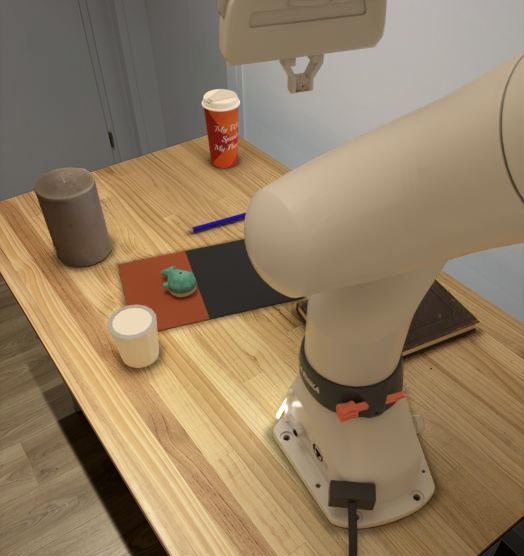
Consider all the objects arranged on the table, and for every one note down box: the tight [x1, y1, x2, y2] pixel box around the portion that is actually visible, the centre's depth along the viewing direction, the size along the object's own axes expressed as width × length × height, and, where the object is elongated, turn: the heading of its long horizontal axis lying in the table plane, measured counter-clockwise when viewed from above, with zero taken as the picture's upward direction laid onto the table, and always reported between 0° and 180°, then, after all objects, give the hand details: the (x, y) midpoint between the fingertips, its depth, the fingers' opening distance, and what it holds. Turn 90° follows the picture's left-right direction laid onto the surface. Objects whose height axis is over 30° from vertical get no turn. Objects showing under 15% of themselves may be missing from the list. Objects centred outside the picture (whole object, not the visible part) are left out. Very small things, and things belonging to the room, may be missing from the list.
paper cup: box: [201, 88, 241, 169], centre depth 114 cm, size 8×8×14 cm
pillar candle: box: [33, 167, 112, 268], centre depth 94 cm, size 10×10×15 cm
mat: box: [117, 238, 305, 332], centre depth 94 cm, size 18×28×1 cm, turn 108°
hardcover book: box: [295, 278, 480, 361], centre depth 86 cm, size 16×23×2 cm
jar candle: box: [107, 305, 160, 369], centre depth 80 cm, size 7×7×7 cm
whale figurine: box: [161, 266, 197, 297], centre depth 91 cm, size 6×7×4 cm
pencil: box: [187, 212, 246, 233], centre depth 104 cm, size 17×1×1 cm, turn 116°
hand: (299, 90), depth 71 cm, fingers closed
